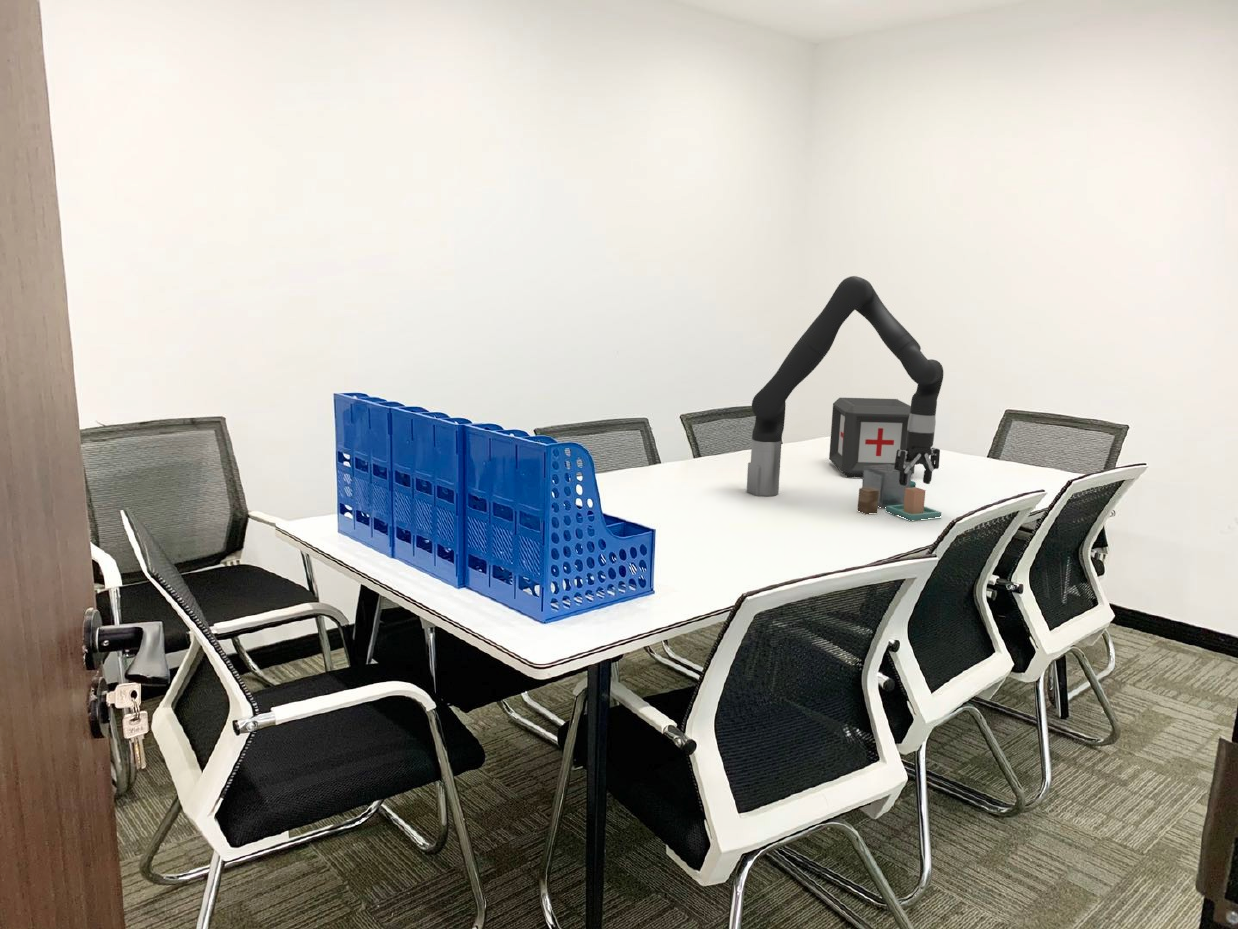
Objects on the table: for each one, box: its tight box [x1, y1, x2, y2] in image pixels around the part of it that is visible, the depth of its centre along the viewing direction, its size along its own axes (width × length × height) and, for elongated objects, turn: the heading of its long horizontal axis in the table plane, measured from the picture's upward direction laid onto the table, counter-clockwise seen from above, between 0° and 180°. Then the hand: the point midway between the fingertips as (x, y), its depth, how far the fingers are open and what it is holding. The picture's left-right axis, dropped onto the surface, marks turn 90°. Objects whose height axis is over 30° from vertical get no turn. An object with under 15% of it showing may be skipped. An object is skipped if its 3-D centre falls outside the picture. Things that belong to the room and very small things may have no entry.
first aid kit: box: [828, 397, 915, 478], centre depth 321 cm, size 25×25×25 cm
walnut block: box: [857, 487, 879, 515], centre depth 267 cm, size 4×4×7 cm
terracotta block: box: [903, 486, 926, 514], centre depth 265 cm, size 4×4×7 cm
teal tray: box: [885, 504, 942, 522], centre depth 265 cm, size 11×11×2 cm
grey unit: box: [861, 464, 912, 509], centre depth 277 cm, size 11×10×11 cm
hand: (914, 484), depth 264 cm, fingers open, 8 cm apart
